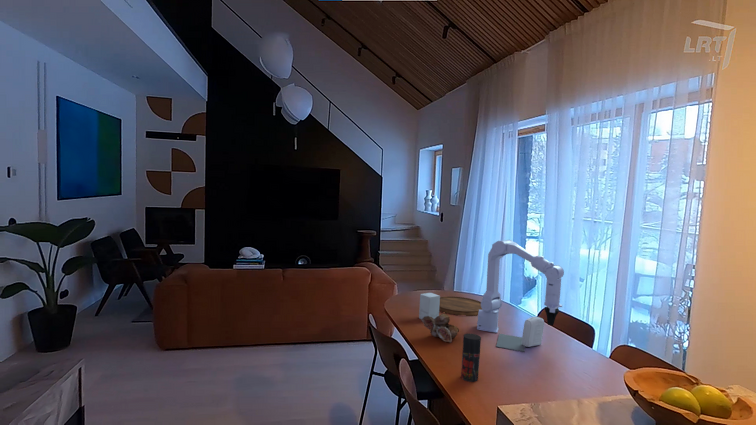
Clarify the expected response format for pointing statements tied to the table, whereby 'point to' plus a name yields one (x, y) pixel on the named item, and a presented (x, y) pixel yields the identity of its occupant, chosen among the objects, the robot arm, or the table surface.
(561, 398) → the table surface
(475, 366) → the deodorant
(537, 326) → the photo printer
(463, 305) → the cutting board
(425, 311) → the supplement box
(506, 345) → the mat
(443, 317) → the seed pod
